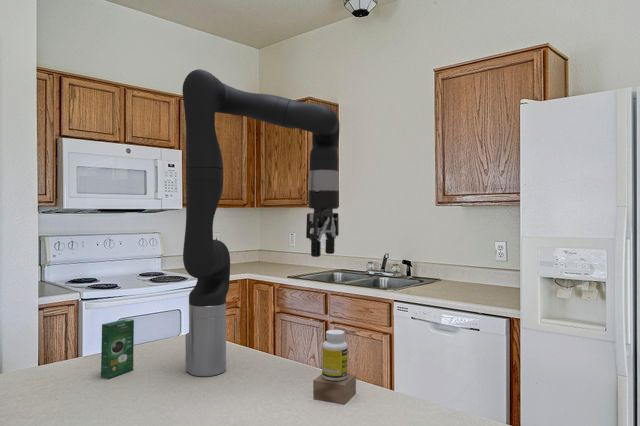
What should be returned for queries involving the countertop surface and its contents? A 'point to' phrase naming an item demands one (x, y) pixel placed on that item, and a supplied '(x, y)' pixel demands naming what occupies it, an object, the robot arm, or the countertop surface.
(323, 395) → the walnut block
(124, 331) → the coffee box
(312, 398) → the mat
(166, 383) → the countertop surface
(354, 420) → the countertop surface
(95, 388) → the countertop surface
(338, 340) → the supplement bottle
